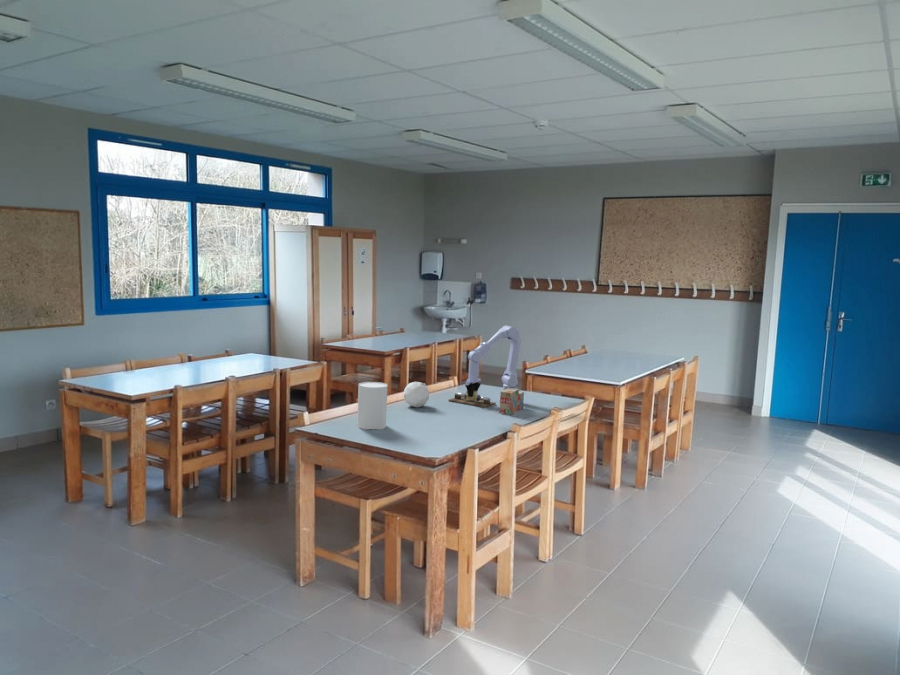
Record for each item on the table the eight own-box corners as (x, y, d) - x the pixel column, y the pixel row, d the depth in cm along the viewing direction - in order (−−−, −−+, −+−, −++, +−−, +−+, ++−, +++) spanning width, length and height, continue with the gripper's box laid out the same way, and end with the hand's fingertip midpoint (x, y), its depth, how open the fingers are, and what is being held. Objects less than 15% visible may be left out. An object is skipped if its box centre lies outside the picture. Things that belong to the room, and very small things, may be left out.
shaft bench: (495, 404, 377) (495, 399, 377) (485, 408, 367) (485, 402, 367) (459, 398, 390) (459, 393, 389) (448, 401, 379) (448, 396, 379)
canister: (387, 429, 311) (389, 387, 309) (358, 429, 308) (359, 387, 306) (384, 422, 324) (385, 382, 322) (356, 422, 322) (357, 381, 319)
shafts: (490, 402, 374) (491, 396, 374) (487, 403, 371) (488, 397, 371) (457, 396, 385) (457, 390, 385) (453, 397, 382) (454, 391, 382)
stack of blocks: (512, 406, 375) (514, 384, 374) (523, 408, 373) (524, 386, 371) (499, 413, 356) (500, 391, 354) (510, 415, 353) (511, 392, 352)
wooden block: (477, 399, 379) (477, 390, 378) (473, 400, 375) (474, 391, 375) (469, 398, 381) (470, 389, 381) (466, 399, 378) (466, 390, 377)
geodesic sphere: (437, 394, 368) (423, 373, 367) (434, 399, 353) (419, 377, 353) (415, 409, 370) (401, 387, 369) (411, 415, 356) (396, 392, 355)
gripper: (473, 370, 385) (472, 393, 386) (461, 373, 372) (459, 396, 374) (484, 371, 381) (483, 395, 383) (472, 374, 369) (470, 398, 370)
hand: (472, 396), depth 378 cm, fingers closed on wooden block, 4 cm apart
